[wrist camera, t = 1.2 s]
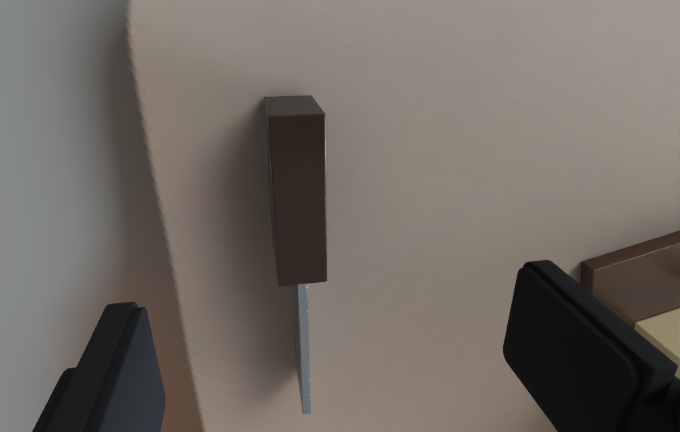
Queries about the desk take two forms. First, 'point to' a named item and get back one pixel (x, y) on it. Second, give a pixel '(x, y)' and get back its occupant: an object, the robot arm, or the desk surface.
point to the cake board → (637, 279)
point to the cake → (663, 334)
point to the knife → (298, 209)
